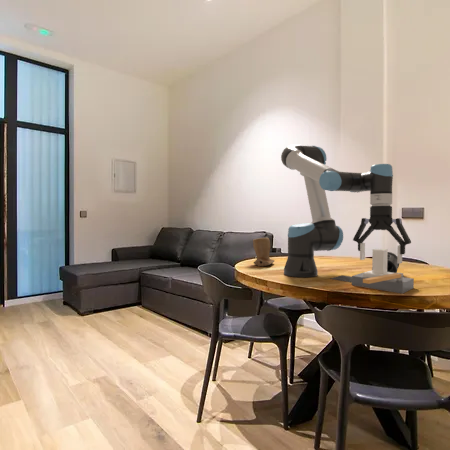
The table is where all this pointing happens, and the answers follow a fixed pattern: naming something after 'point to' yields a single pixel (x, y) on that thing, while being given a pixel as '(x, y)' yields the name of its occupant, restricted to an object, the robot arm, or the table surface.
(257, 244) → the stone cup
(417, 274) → the table surface
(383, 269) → the plug
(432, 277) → the table surface
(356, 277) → the socket block
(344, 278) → the mat
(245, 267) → the table surface
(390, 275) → the tan wooden bar
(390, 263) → the muzzle brake
